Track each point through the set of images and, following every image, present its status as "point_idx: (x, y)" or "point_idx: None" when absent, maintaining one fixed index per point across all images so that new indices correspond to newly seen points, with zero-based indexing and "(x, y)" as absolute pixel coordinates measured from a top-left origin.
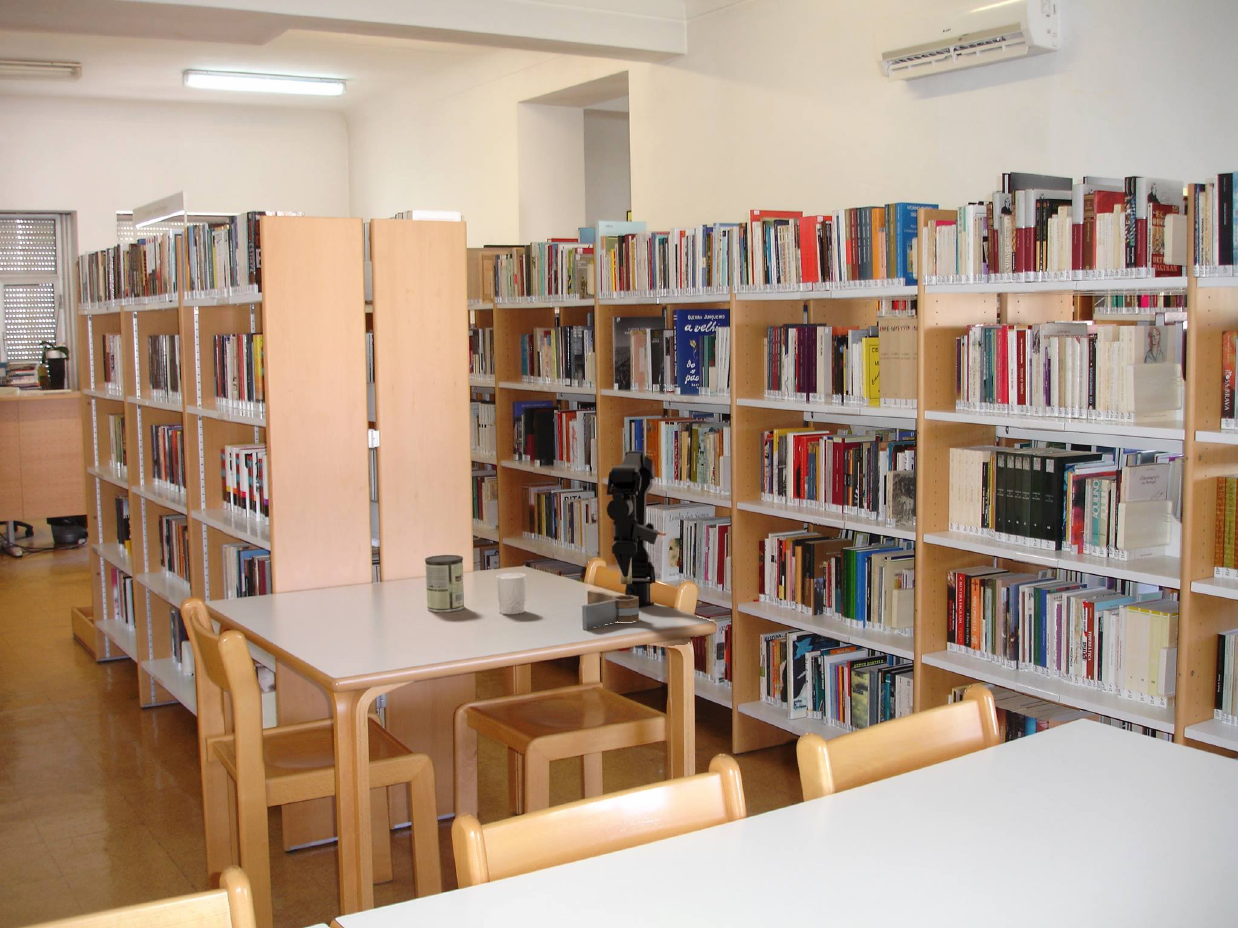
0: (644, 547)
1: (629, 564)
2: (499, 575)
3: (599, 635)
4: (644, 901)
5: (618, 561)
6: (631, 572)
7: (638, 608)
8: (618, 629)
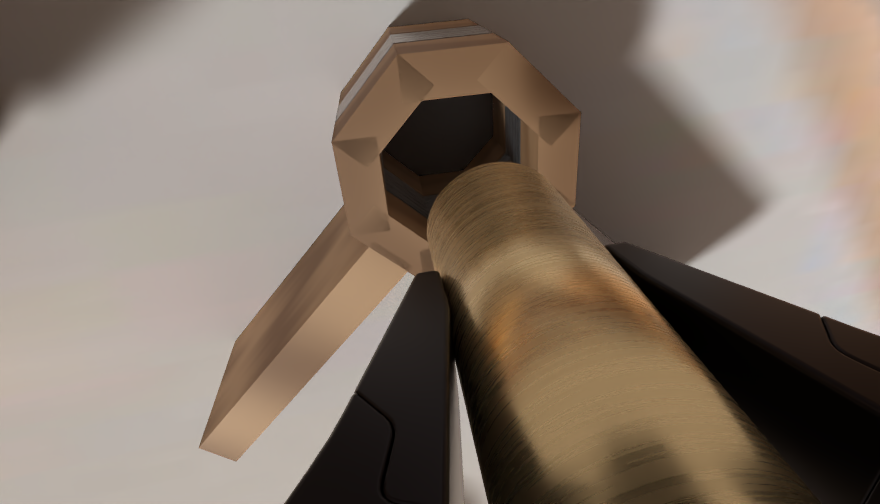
0: None
1: (834, 323)
2: None
3: (782, 200)
4: None
5: None
6: (552, 224)
7: (436, 34)
8: (670, 123)
